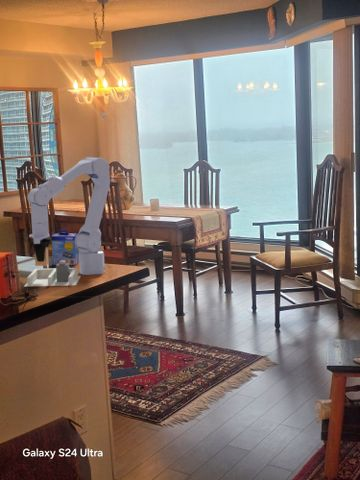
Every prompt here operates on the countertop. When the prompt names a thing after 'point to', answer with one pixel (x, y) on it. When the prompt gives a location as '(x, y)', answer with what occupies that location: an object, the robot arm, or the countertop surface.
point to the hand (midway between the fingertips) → (42, 260)
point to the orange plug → (46, 259)
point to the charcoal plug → (62, 271)
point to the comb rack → (51, 278)
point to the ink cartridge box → (64, 248)
